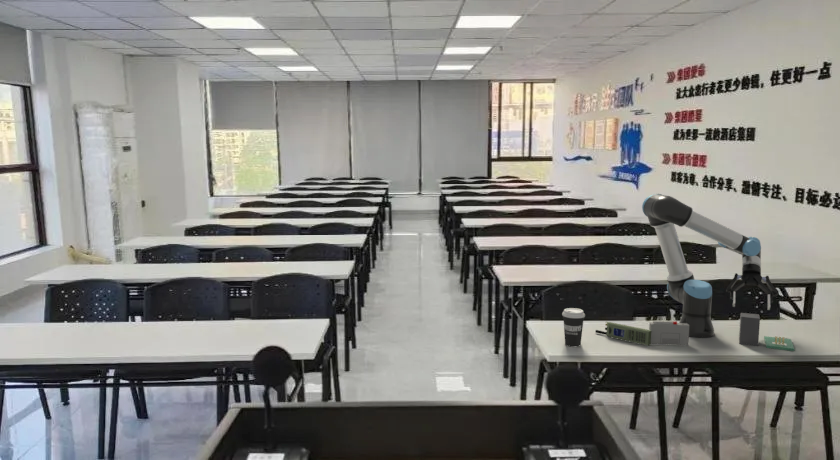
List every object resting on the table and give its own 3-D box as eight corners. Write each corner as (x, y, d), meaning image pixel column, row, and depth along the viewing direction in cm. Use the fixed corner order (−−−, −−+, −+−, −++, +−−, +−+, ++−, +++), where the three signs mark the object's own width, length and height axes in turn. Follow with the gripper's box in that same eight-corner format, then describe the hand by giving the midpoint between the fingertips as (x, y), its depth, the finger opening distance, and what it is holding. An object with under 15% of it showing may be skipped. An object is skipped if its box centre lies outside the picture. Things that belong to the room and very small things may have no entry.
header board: (766, 347, 251) (767, 338, 251) (764, 338, 264) (764, 329, 263) (794, 351, 247) (794, 341, 246) (790, 341, 259) (791, 332, 259)
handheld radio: (648, 346, 255) (593, 334, 272) (651, 345, 257) (597, 333, 274) (649, 331, 254) (594, 320, 271) (652, 329, 257) (597, 319, 273)
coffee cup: (556, 342, 260) (557, 309, 258) (574, 339, 264) (575, 306, 262) (570, 349, 252) (571, 314, 250) (588, 346, 255) (589, 311, 254)
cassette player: (686, 343, 258) (687, 321, 256) (688, 345, 255) (689, 323, 254) (648, 342, 260) (649, 320, 259) (650, 344, 257) (651, 321, 256)
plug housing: (739, 343, 257) (741, 316, 255) (738, 339, 263) (740, 312, 261) (758, 346, 253) (759, 318, 252) (757, 341, 260) (758, 314, 258)
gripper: (781, 273, 273) (782, 314, 262) (720, 269, 284) (719, 308, 273) (783, 264, 268) (785, 305, 257) (721, 260, 279) (720, 299, 267)
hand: (751, 306), depth 265 cm, fingers open, 13 cm apart
